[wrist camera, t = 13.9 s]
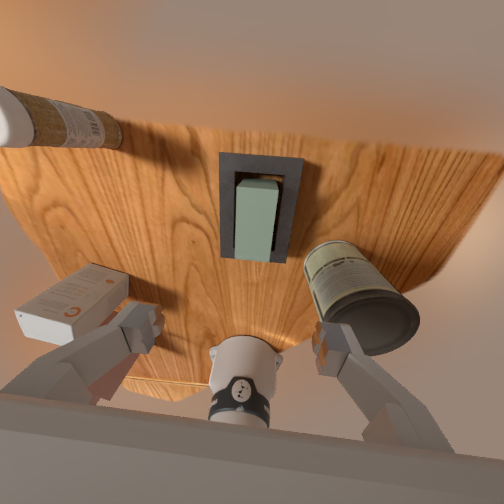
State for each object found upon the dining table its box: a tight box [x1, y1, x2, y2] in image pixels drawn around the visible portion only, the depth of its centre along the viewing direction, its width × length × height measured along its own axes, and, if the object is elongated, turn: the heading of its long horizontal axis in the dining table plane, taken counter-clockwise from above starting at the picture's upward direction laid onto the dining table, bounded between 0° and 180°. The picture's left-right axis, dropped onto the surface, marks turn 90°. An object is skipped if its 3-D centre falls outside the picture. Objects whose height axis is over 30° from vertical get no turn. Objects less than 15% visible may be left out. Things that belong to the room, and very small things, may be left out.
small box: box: [14, 263, 129, 346], centre depth 33 cm, size 8×6×13 cm
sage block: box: [235, 177, 279, 262], centre depth 26 cm, size 4×9×9 cm, turn 176°
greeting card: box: [87, 311, 140, 405], centre depth 39 cm, size 11×7×15 cm, turn 22°
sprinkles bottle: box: [0, 86, 122, 149], centre depth 20 cm, size 5×5×14 cm
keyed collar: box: [219, 152, 304, 263], centre depth 28 cm, size 15×10×4 cm
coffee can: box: [304, 240, 420, 356], centre depth 27 cm, size 10×10×14 cm
